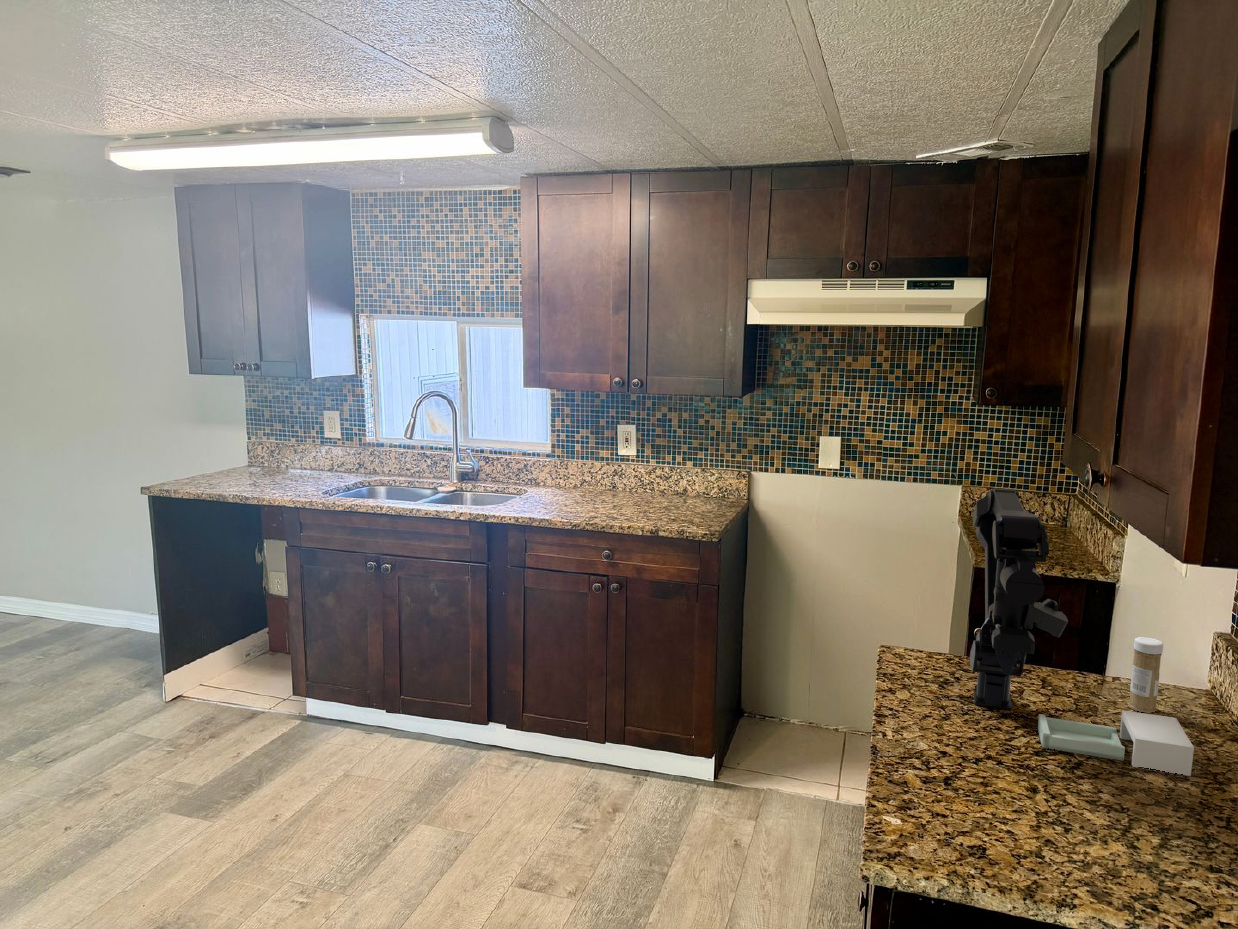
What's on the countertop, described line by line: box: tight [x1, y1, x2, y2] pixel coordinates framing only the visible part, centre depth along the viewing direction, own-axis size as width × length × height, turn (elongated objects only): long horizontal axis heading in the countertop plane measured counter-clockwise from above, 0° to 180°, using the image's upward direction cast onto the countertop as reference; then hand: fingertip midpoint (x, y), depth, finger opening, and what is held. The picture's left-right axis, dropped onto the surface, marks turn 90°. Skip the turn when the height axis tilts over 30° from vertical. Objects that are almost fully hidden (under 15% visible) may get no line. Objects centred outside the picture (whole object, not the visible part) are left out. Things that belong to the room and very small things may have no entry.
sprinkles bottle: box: [1128, 636, 1164, 714], centre depth 157 cm, size 5×5×14 cm
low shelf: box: [1119, 710, 1195, 777], centre depth 140 cm, size 11×8×5 cm
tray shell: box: [1037, 713, 1126, 761], centre depth 144 cm, size 8×12×3 cm, turn 69°
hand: (1006, 674), depth 147 cm, fingers closed
